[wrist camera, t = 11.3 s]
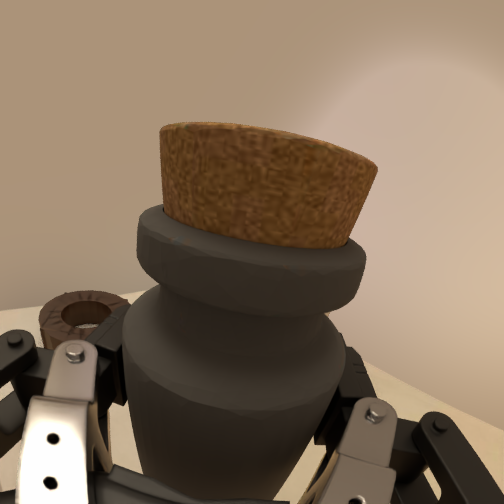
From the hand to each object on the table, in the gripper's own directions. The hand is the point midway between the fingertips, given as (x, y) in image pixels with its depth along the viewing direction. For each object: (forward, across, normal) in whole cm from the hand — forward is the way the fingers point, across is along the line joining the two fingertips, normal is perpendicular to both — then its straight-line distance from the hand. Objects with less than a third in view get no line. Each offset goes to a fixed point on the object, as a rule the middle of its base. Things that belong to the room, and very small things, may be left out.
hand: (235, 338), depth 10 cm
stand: (+19, +21, +19) cm, 34 cm away
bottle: (-2, 0, +9) cm, 9 cm away
